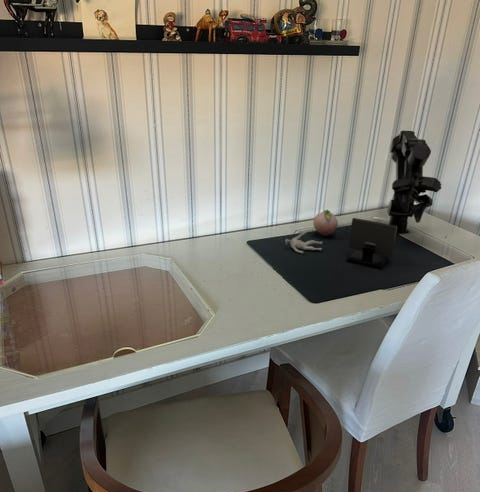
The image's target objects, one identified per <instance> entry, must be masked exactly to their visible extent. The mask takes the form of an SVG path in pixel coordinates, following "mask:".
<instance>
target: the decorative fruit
mask: <svg viewBox="0 0 480 492" xmlns="http://www.w3.org/2000/svg"><path fill="white" fill-rule="evenodd" d="M338 224H339V222H338V219H337V217H336V216H335V215H334V214H333V212H331V211H330V210H329V209H324V210H323V211H322V212H319V213H317V214H316V215H315V217H314V218H313V227H314V230H315V231H316V232H318V233H319V234H320V235H322V236H324V237H327V236H329V235H332V234H333V233H335V231H336V230H337V228H338V226H339V225H338Z"/></svg>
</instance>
